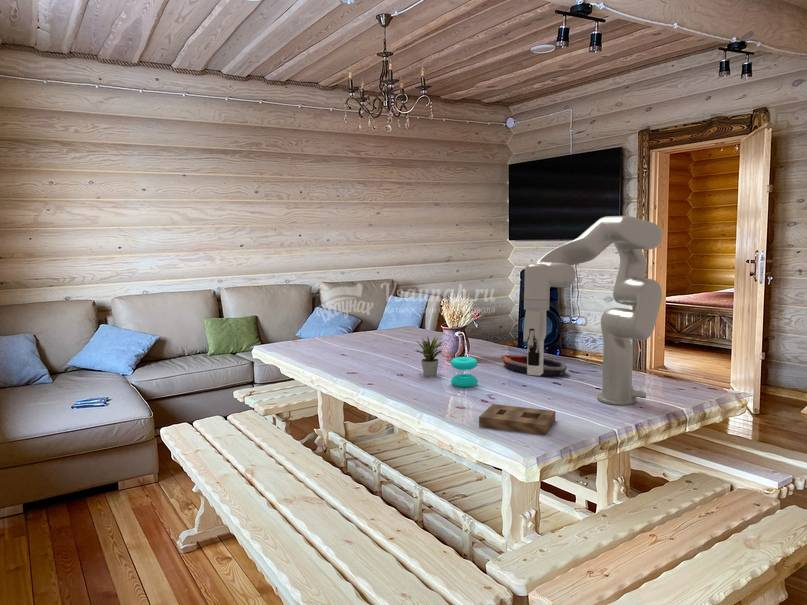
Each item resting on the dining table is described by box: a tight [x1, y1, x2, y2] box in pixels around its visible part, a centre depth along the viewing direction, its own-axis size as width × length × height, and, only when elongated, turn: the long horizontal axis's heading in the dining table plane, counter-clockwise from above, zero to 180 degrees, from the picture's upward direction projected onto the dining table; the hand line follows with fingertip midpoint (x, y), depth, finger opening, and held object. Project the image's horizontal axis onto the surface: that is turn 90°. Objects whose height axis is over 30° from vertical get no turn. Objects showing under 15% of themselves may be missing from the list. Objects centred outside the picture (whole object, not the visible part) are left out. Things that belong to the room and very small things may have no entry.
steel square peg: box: [526, 339, 545, 377], centre depth 184 cm, size 4×4×11 cm
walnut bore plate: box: [478, 403, 556, 436], centre depth 183 cm, size 20×14×3 cm
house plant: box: [413, 335, 447, 377], centre depth 242 cm, size 14×14×16 cm
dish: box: [501, 354, 567, 377], centre depth 248 cm, size 16×31×5 cm, turn 40°
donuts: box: [450, 356, 478, 388], centre depth 228 cm, size 10×10×10 cm
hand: (535, 363), depth 184 cm, fingers closed on steel square peg, 4 cm apart
